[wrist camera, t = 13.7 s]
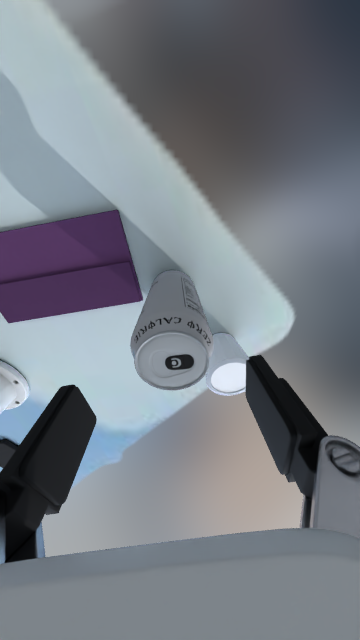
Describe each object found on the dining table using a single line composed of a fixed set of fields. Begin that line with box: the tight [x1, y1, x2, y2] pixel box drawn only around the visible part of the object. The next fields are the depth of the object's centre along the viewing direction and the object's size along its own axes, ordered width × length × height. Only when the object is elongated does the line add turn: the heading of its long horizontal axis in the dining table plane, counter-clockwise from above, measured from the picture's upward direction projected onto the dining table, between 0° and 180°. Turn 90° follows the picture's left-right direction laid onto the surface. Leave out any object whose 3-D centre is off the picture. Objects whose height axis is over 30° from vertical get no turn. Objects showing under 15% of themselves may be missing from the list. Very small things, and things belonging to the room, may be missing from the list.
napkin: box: [0, 210, 143, 323], centre depth 23 cm, size 20×11×1 cm, turn 99°
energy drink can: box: [130, 270, 214, 390], centre depth 18 cm, size 6×6×15 cm
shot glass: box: [205, 333, 249, 396], centre depth 26 cm, size 7×7×7 cm
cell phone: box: [0, 439, 18, 468], centre depth 43 cm, size 9×18×1 cm, turn 23°
